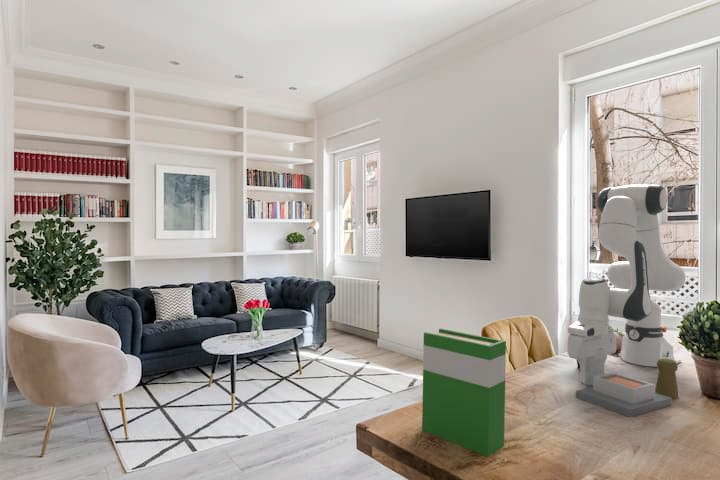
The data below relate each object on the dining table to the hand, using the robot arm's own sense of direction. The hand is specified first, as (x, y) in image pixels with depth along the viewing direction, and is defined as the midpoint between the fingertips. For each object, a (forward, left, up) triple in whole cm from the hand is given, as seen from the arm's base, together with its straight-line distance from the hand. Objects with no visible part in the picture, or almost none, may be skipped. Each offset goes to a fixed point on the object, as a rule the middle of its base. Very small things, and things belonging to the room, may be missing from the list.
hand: (592, 369), depth 144 cm
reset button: (+6, +14, -1) cm, 15 cm away
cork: (-11, +17, -5) cm, 21 cm away
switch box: (+6, +14, -5) cm, 16 cm away
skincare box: (0, 0, -5) cm, 5 cm away
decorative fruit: (-46, -21, -5) cm, 51 cm away
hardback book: (+65, +12, -5) cm, 66 cm away
